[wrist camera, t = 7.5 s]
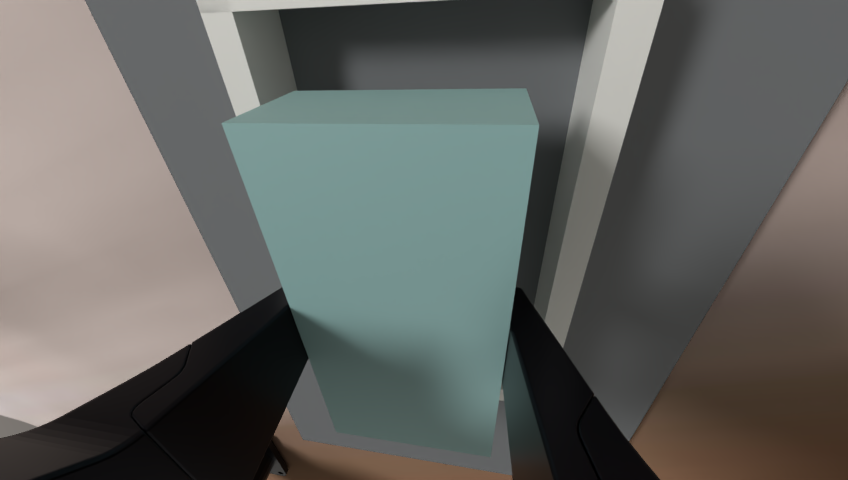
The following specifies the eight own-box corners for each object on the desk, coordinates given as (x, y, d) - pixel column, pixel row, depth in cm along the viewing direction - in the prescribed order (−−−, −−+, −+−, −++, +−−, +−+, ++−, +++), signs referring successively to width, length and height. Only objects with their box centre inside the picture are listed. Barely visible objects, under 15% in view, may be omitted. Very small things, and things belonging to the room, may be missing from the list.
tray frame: (540, 364, 16) (546, 406, 14) (341, 341, 17) (325, 376, 16) (643, -56, 7) (685, -72, 6) (241, -26, 9) (184, -32, 7)
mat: (596, 475, 22) (599, 490, 21) (307, 428, 25) (302, 439, 25) (973, -198, 6) (1030, -221, 5) (68, -90, 9) (37, -96, 9)
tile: (294, 90, 8) (220, 123, 6) (526, 88, 7) (539, 125, 5) (360, 366, 13) (336, 432, 11) (491, 383, 12) (490, 457, 10)
